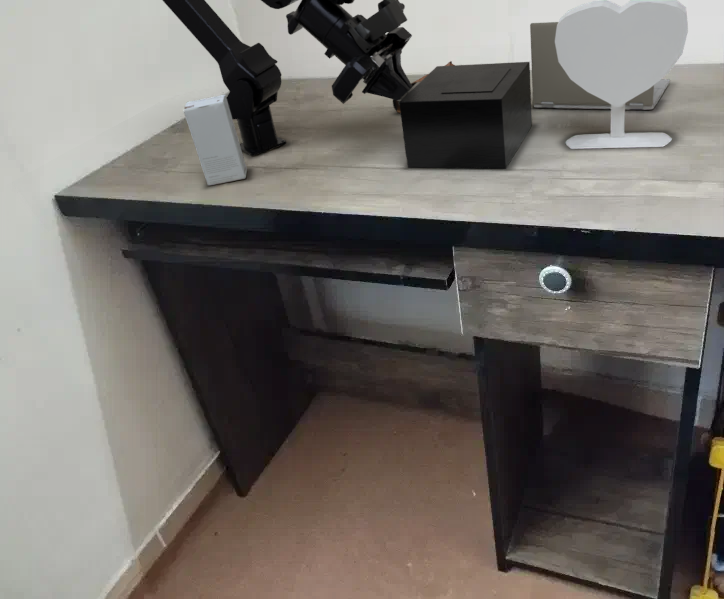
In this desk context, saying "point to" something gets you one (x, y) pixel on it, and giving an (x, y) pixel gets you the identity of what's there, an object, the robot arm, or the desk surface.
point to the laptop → (560, 89)
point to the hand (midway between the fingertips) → (417, 102)
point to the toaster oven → (467, 116)
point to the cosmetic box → (215, 139)
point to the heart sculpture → (620, 58)
